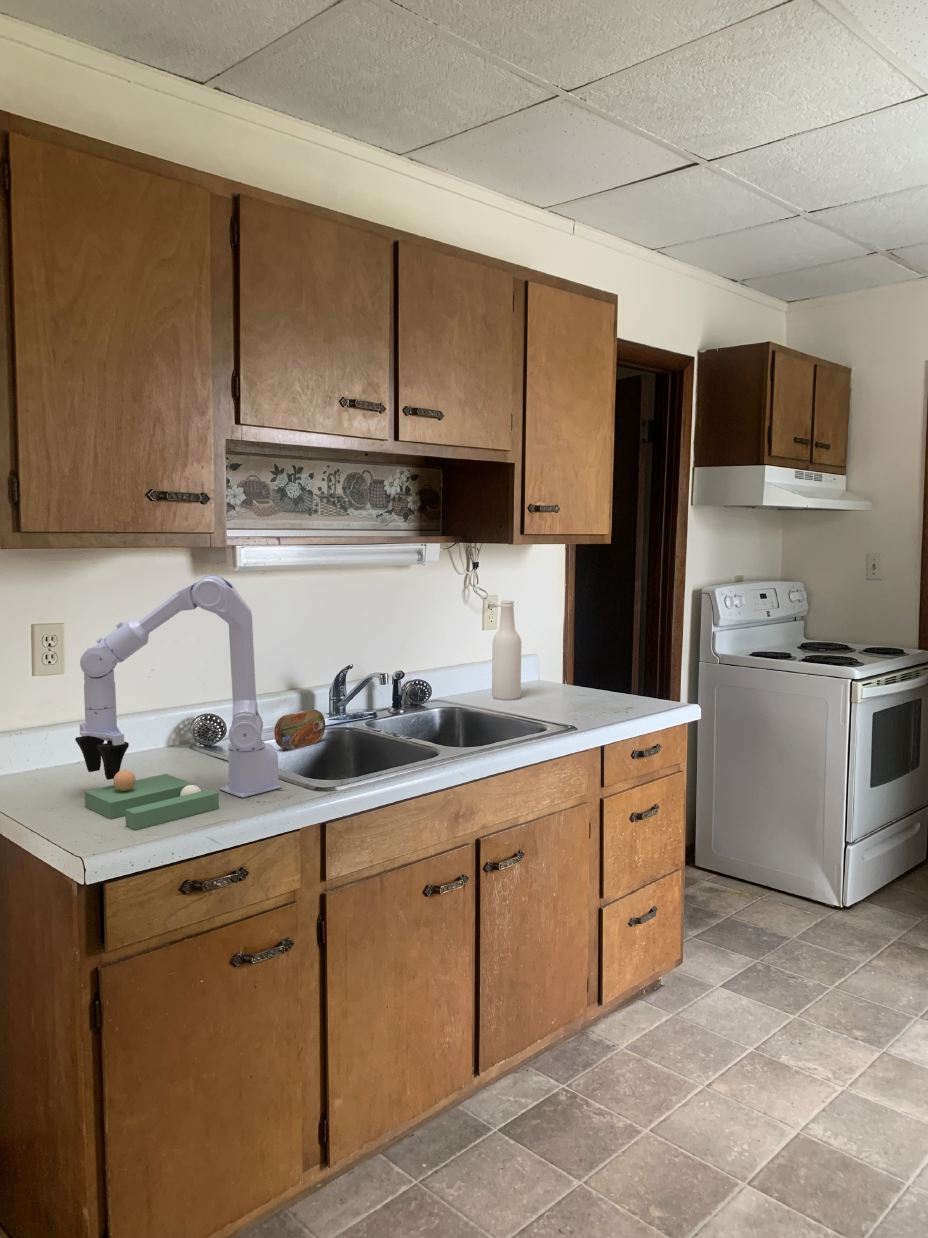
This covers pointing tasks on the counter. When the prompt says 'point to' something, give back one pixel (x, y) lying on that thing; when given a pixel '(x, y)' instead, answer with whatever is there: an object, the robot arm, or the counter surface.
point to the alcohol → (506, 656)
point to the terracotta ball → (124, 780)
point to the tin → (299, 729)
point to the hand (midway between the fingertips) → (102, 774)
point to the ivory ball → (189, 790)
